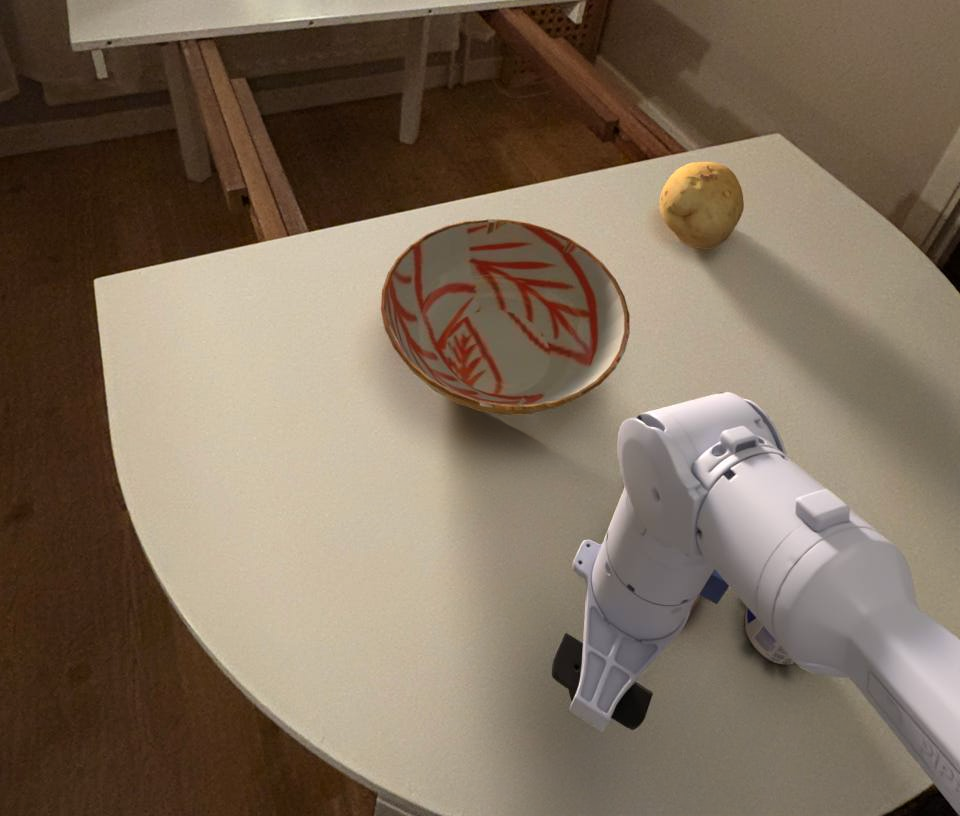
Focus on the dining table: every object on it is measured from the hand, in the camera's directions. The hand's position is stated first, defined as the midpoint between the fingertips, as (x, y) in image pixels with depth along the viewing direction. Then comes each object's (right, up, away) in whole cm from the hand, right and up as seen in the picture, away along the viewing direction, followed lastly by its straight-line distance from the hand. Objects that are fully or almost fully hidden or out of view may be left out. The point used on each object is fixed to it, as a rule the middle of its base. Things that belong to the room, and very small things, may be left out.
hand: (609, 647), depth 51 cm
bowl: (-7, +12, +31) cm, 34 cm away
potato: (+19, +24, +50) cm, 59 cm away
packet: (+7, +2, +10) cm, 12 cm away
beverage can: (+15, -6, +12) cm, 20 cm away
